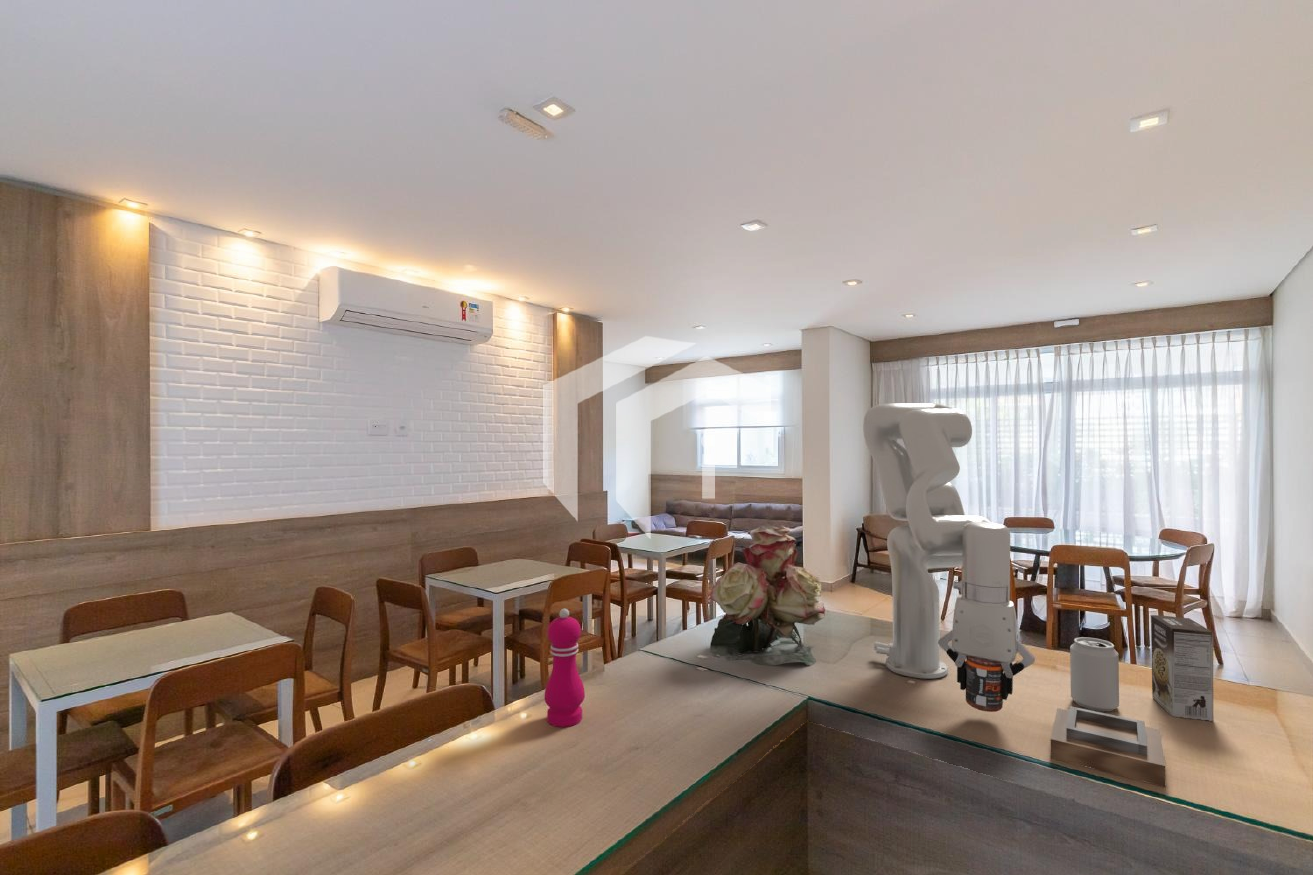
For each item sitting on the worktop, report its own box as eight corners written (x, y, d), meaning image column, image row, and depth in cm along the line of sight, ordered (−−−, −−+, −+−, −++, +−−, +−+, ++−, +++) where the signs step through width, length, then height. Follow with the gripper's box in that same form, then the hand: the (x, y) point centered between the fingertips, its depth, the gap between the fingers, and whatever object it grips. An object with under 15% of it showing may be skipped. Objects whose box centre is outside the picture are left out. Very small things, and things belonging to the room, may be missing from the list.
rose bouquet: (701, 662, 141) (700, 530, 141) (735, 627, 168) (734, 516, 168) (817, 678, 131) (815, 536, 132) (833, 637, 158) (832, 520, 159)
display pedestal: (1050, 757, 98) (1050, 729, 98) (1057, 725, 109) (1057, 699, 109) (1165, 786, 89) (1165, 755, 89) (1160, 748, 101) (1159, 720, 101)
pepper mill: (591, 713, 115) (590, 605, 115) (573, 731, 108) (573, 615, 108) (556, 708, 117) (556, 602, 117) (537, 725, 110) (536, 612, 110)
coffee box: (1150, 697, 120) (1149, 614, 121) (1191, 701, 118) (1190, 617, 118) (1171, 717, 112) (1170, 627, 112) (1215, 722, 110) (1214, 630, 110)
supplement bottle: (988, 716, 107) (989, 651, 107) (958, 702, 112) (958, 640, 112) (1010, 708, 110) (1011, 645, 110) (979, 695, 115) (980, 635, 115)
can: (1127, 715, 113) (1127, 648, 113) (1081, 711, 114) (1081, 646, 114) (1106, 698, 120) (1106, 636, 120) (1063, 695, 122) (1063, 634, 122)
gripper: (928, 589, 113) (927, 687, 113) (1040, 605, 102) (1038, 713, 103) (938, 580, 119) (937, 673, 119) (1044, 595, 108) (1042, 697, 109)
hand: (984, 691), depth 111 cm, fingers closed on supplement bottle, 5 cm apart
